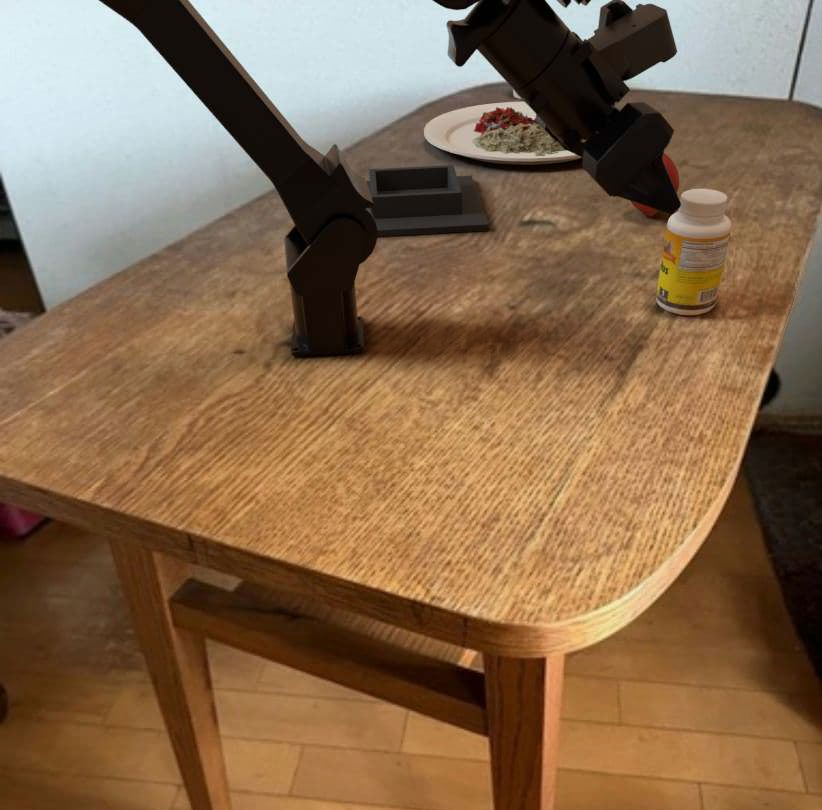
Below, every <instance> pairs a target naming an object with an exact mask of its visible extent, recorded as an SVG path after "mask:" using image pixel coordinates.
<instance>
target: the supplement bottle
mask: <svg viewBox="0 0 822 810" xmlns="http://www.w3.org/2000/svg"><path fill="white" fill-rule="evenodd" d="M679 200H680V202H681V207H680V208H679V209H678V210H677V211H676V212H675V213H674V214H672V215H671V216H670V217H669V218H668V220H667V223H666V224H667V225H666V230H665V235H664V243H663V248H662V254H661V262H660V269H659V275H658V282H657V288H656V295H655V299H656V303H657V305H659V307H660V308H661V309H663V310H664V311H667V312H668V313H671V314H676V315H679V316H697V315H703V314H705V313H708V312H709V311H711V310H712V309H713V308H714V307H715V305H716V304H717V300H718V295H719V291H720V290H719V289H720V285H721V280H722V276H723V271H724V266H725V261H726V256H727V251H728V247H729V242H730V237H731V231H732V226H733V225H732V221H731V219H730V217H728V216H727V215H726V211H727V204H728V196H727V194H726V193H724V192H722V191H720V190H715V189H710V188H693V189H688V190H685V191H683V192H682V193H681V195H680V198H679Z"/></svg>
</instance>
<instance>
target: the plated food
mask: <svg viewBox="0 0 822 810" xmlns="http://www.w3.org/2000/svg"><path fill="white" fill-rule="evenodd" d="M423 134H424V139H426V141H427V142H429V144H431V145H432V146H434V147H435V148H438V149H440V150H443V151H446V152H449V153H451V154H456V155H459V156H463V157H465V158H468V159H471V160H476V161H481V162H487V163H492V164H501V165H516V166H517V165H518V166H519V165H520V166H521V165H522V166H526V165H527V166H532V165H550V164H559V163H566V162H572V161H576V160H581V159H583V158H582V157H580V156H578V155H576V154H574V153H572V152H569V151H567V150H565V149H564V148H563V147H562V146H561V145H560V144H559V143H558V142H555V141H554V140H553V139H552V137H551V136H550V135H549V134H548V133H547V132H546V131H545V130H544V129H543V128H542V127H541V126H540V125H539V124H538V123H537V121H536V113H535V112H534V111H533V110H532V109H531V108H530V107H529V106H528V105H527V104H526V103H525V102H524V101H506V102H505V101H504V102H495V103H486V104H479V105H472V106H467V107H463V108H458V109H453V110H452V111H448V112H444V113H442V114H440V115H438V116H436V117H434V118H432V119H431V120H430V121H428V122H427V123H426V124H425V126H424V128H423Z"/></svg>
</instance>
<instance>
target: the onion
mask: <svg viewBox="0 0 822 810" xmlns="http://www.w3.org/2000/svg"><path fill="white" fill-rule="evenodd" d="M663 162H664V164H665V167H666V169H667V172H668V174H669V177H670V179H671V181H672V184H673V186H674V188H675V191H676V193H677V194H678V190H679V187H680V174H679V171H678V168H677V165H676V164H675V162H674V161H673V160H672V158H671V157H670V156H669V155H667V154H666V153H665V152H664V153H663ZM630 203H631V204H632V206H634V207H635V208H636V209H637V210H638V211H639V212H641V213H642V214H643V215H644V216H645V217H647V218H648V217H649V218H651V217H653V216H655V215H656V214H657V213H658V212H660V211H659V210H656V209H653V208H650V207H648V206H645V205H642V204H639V203H636V202H633V201H630Z"/></svg>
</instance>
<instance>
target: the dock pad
mask: <svg viewBox="0 0 822 810" xmlns="http://www.w3.org/2000/svg"><path fill="white" fill-rule="evenodd" d="M368 178H369V179H368V180H366V183H367V186H368V188H369V191H370V194H371V197H372V200H373V203H374V206H373V207H372V208H371V210H372V213H373V216H374V219H375V222H376V226H377V230H378V233H377V238H382V237H398V236H399V237H401V236H416V235H417V236H418V235H419V236H421V235H435V234H439V235H440V234H455V233H456V234H457V233H474V232H475V233H477V232H489V229H490V223H489V221H488V218H487V215H486V212H485V210H484V207H483V204H482V202H481V199H480V196H479V193H478V191H477V188H476V184H475V182H474V179H473V177H472V175H471V174H470V175H457V173H456V169H455V166H454V164H443V165H426V166H424V165H423V166H407V167H403V166H402V167H388V168H386V167H385V168H368Z"/></svg>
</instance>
